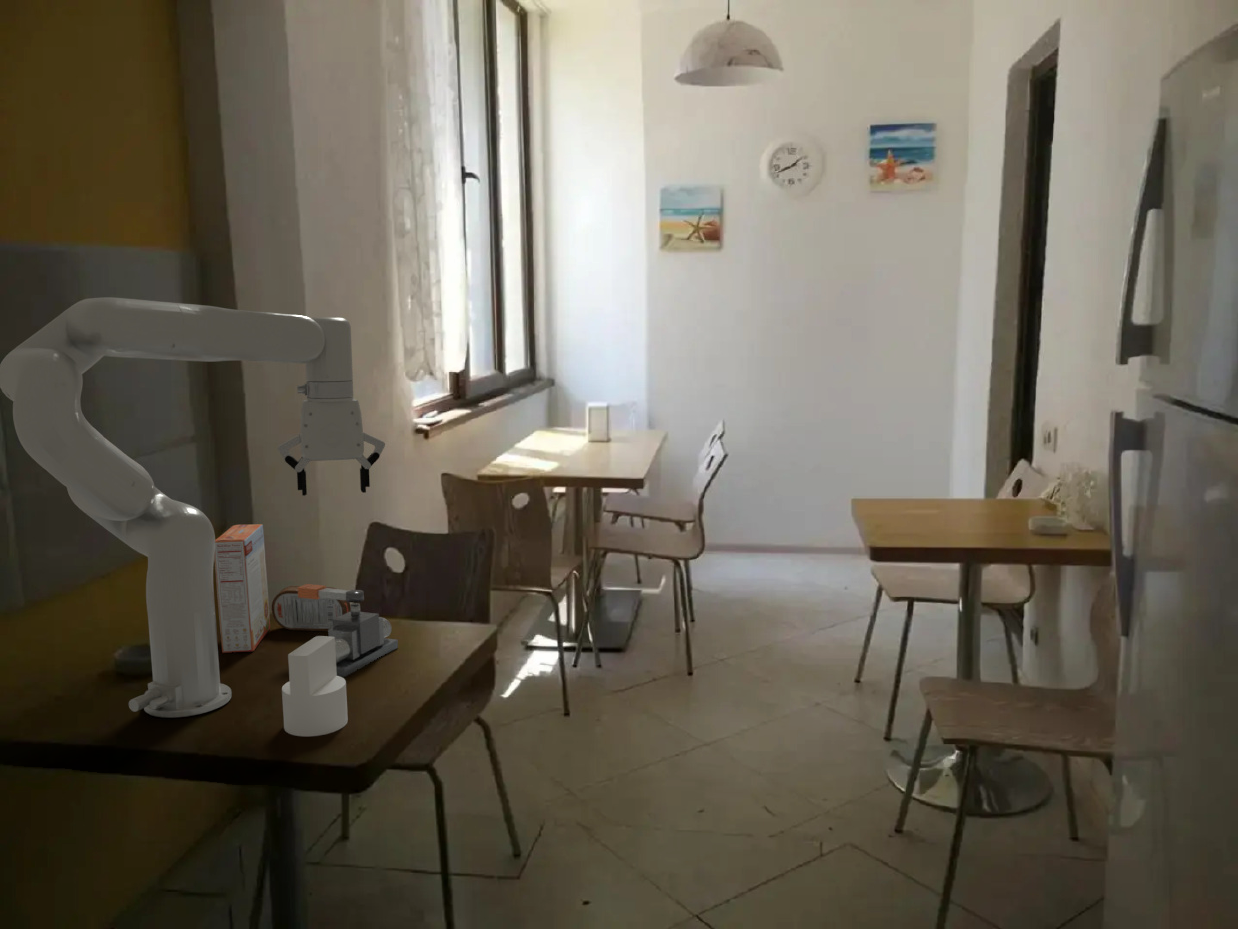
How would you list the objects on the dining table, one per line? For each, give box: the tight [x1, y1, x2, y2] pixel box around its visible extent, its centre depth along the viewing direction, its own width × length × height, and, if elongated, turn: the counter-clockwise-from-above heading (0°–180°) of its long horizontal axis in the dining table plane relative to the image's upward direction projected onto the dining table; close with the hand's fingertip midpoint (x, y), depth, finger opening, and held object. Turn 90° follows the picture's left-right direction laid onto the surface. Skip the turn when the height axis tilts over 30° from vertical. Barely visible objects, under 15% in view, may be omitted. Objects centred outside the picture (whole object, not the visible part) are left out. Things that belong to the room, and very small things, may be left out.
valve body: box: [327, 602, 399, 678], centre depth 176 cm, size 16×6×10 cm, turn 159°
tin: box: [271, 585, 351, 632], centre depth 194 cm, size 15×3×8 cm, turn 84°
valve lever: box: [298, 583, 365, 603], centre depth 177 cm, size 12×3×2 cm, turn 69°
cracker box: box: [214, 523, 271, 654], centre depth 186 cm, size 14×6×21 cm, turn 6°
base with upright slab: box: [281, 635, 349, 737], centre depth 148 cm, size 9×9×12 cm
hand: (334, 492), depth 171 cm, fingers open, 9 cm apart
